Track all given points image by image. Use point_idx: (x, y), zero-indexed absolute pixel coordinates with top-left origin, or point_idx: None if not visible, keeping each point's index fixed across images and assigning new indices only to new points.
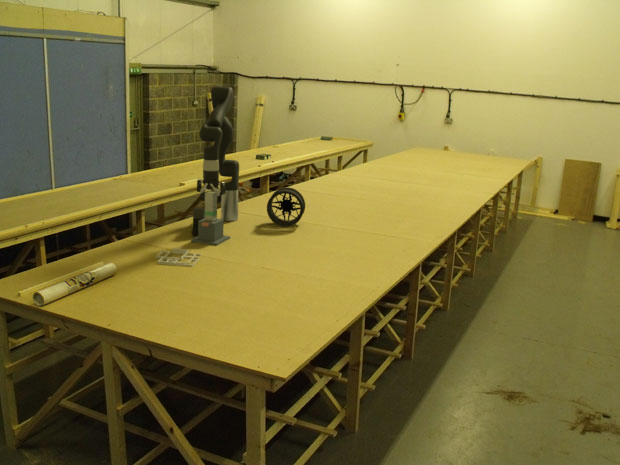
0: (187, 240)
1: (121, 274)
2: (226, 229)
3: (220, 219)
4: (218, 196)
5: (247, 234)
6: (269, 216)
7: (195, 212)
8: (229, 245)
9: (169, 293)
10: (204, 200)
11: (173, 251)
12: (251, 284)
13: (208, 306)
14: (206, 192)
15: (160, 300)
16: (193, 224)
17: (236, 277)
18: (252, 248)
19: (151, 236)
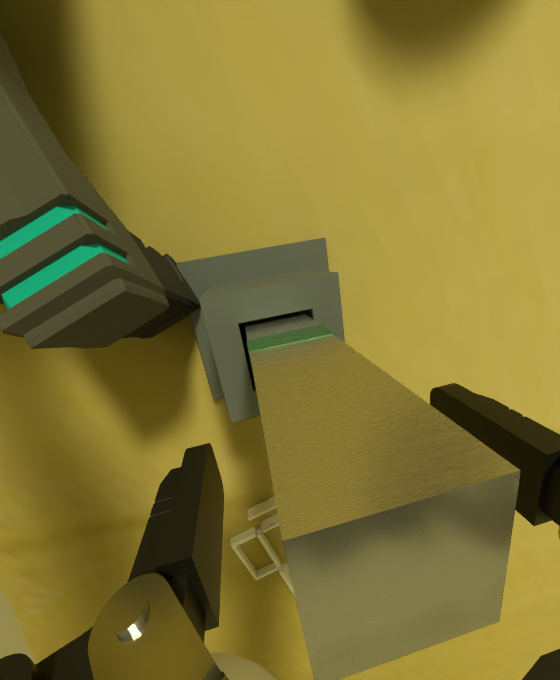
0: (188, 392)
1: (280, 671)
2: (193, 75)
3: (321, 287)
4: (544, 507)
5: (358, 106)
6: None
7: (80, 338)
8: (376, 332)
9: (432, 647)
10: (212, 450)
11: (267, 526)
12: (557, 527)
13: (517, 630)
14: (321, 655)
15: (435, 668)
16: (126, 337)
17: (515, 523)
18: (469, 305)
19: (7, 455)
